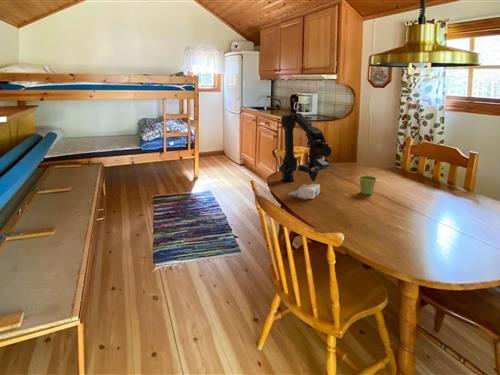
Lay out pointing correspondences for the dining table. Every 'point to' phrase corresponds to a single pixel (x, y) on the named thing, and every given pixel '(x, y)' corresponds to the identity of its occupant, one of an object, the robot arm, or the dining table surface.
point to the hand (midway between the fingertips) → (313, 181)
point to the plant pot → (367, 184)
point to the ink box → (308, 190)
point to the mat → (297, 194)
